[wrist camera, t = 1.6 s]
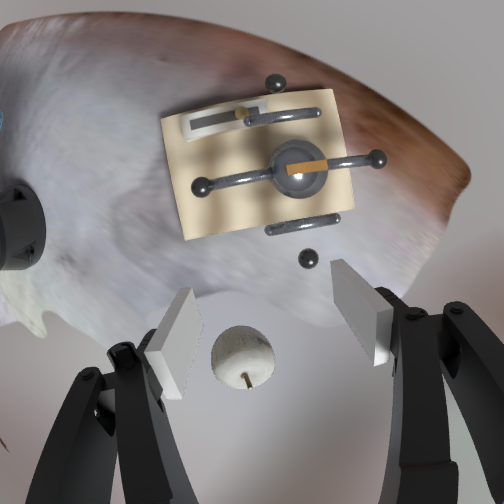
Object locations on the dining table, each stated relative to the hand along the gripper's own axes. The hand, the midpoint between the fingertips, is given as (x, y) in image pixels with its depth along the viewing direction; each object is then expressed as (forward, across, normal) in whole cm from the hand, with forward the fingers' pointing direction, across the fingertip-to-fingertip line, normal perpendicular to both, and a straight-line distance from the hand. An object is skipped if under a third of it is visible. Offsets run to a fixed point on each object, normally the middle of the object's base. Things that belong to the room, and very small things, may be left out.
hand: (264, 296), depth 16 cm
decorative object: (+21, -5, -16) cm, 26 cm away
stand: (+20, +2, +9) cm, 22 cm away
